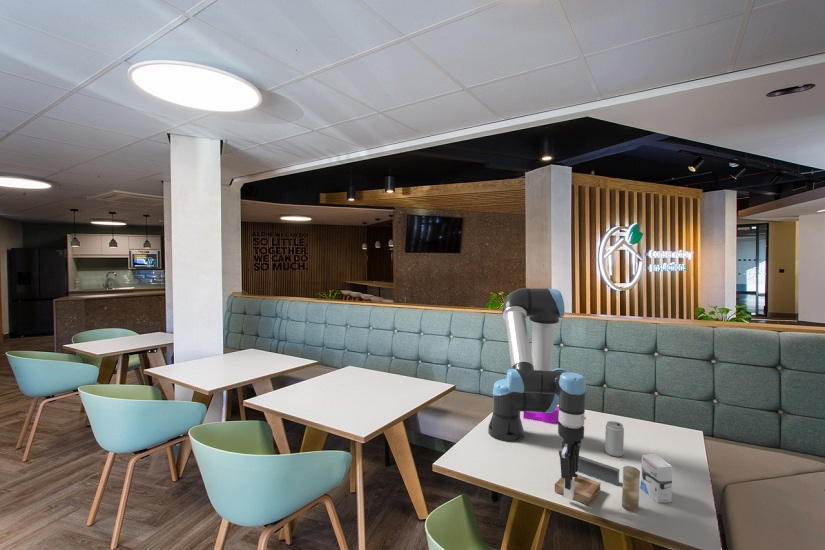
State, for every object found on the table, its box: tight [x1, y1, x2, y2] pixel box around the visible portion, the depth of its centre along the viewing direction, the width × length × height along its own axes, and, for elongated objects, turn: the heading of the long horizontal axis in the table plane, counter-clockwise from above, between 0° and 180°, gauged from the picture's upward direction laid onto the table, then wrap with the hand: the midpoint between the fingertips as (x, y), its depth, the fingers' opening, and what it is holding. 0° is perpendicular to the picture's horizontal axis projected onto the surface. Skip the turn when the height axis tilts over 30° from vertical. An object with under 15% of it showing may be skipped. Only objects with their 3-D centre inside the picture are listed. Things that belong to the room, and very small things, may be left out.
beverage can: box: [604, 420, 625, 458], centre depth 154 cm, size 6×6×12 cm
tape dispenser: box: [523, 405, 559, 424], centre depth 188 cm, size 16×10×6 cm, turn 67°
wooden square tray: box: [554, 473, 601, 507], centre depth 129 cm, size 11×11×2 cm
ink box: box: [640, 453, 674, 504], centre depth 127 cm, size 8×5×12 cm, turn 5°
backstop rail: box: [577, 455, 620, 487], centre depth 139 cm, size 18×2×5 cm, turn 49°
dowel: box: [621, 465, 641, 513], centre depth 121 cm, size 4×4×12 cm
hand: (568, 496), depth 123 cm, fingers closed
